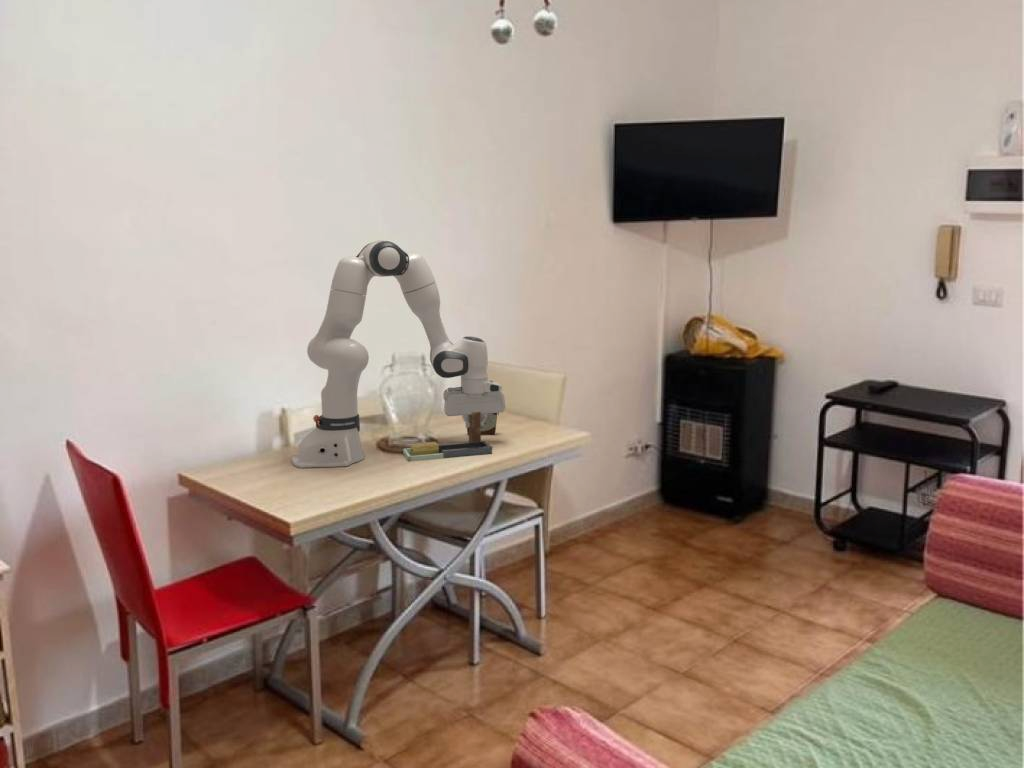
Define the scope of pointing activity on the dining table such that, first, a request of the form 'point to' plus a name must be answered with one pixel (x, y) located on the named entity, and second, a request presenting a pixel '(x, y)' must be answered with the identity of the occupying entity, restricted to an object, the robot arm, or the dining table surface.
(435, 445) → the olive yellow cube
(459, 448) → the dark grey tray
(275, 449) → the dining table surface
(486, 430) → the food container
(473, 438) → the brown rectangular block
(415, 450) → the chip
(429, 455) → the tray
